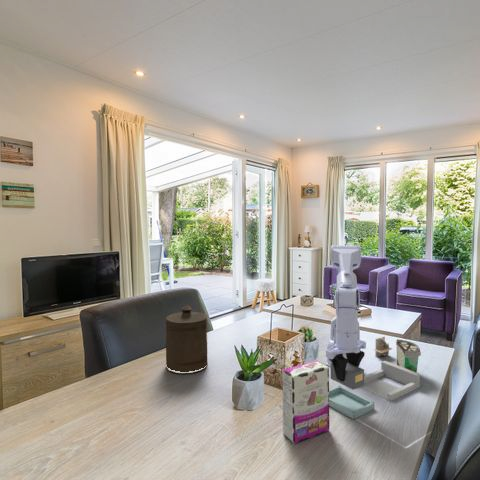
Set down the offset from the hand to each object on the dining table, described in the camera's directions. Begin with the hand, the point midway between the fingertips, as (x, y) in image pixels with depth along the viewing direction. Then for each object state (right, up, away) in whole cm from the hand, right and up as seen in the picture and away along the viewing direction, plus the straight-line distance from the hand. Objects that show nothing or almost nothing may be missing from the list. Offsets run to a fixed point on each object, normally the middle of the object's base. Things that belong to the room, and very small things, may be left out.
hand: (346, 377), depth 98 cm
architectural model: (+25, -6, +35) cm, 43 cm away
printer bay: (+16, -7, +11) cm, 21 cm away
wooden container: (-49, -7, +28) cm, 57 cm away
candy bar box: (-14, -9, -12) cm, 20 cm away
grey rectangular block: (0, -1, 0) cm, 1 cm away
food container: (+28, -7, +20) cm, 34 cm away
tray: (0, -8, 0) cm, 8 cm away
